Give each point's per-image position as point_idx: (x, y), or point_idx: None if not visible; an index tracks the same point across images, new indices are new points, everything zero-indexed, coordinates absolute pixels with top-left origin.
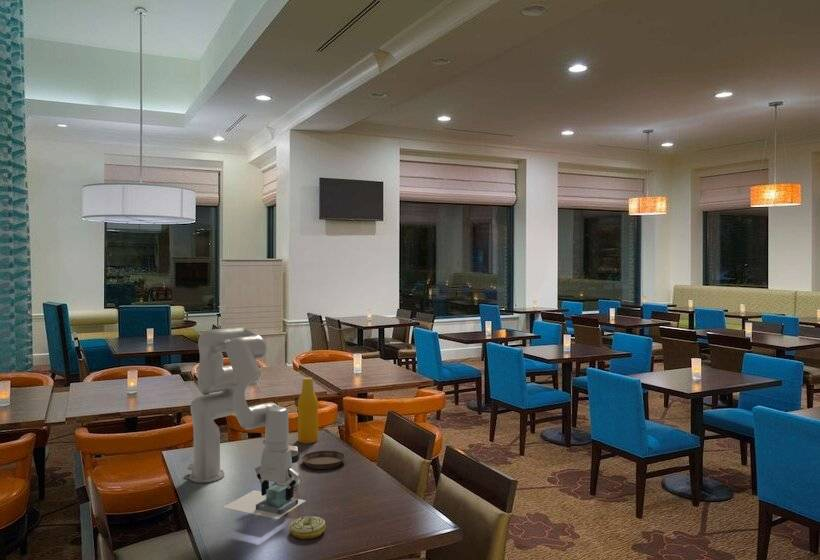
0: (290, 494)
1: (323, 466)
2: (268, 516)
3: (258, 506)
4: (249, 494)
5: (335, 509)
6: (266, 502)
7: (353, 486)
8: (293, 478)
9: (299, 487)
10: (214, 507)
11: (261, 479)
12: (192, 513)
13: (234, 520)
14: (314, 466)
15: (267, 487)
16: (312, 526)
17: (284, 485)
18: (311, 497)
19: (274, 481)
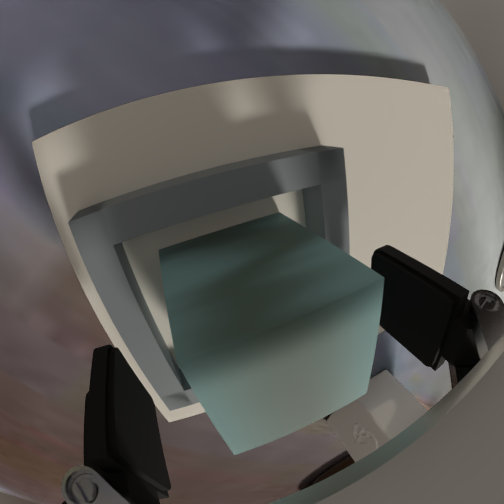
0: (85, 412)
1: (332, 474)
2: (127, 115)
3: (314, 151)
4: (438, 259)
5: (47, 433)
6: (298, 226)
7: (187, 498)
8: (353, 436)
9: (320, 423)
10: (462, 112)
11: (502, 317)
12: (466, 45)
13: (332, 19)
14: (351, 461)
15: (402, 326)
16: None
17: (364, 396)
18: (218, 435)
19: (340, 482)
